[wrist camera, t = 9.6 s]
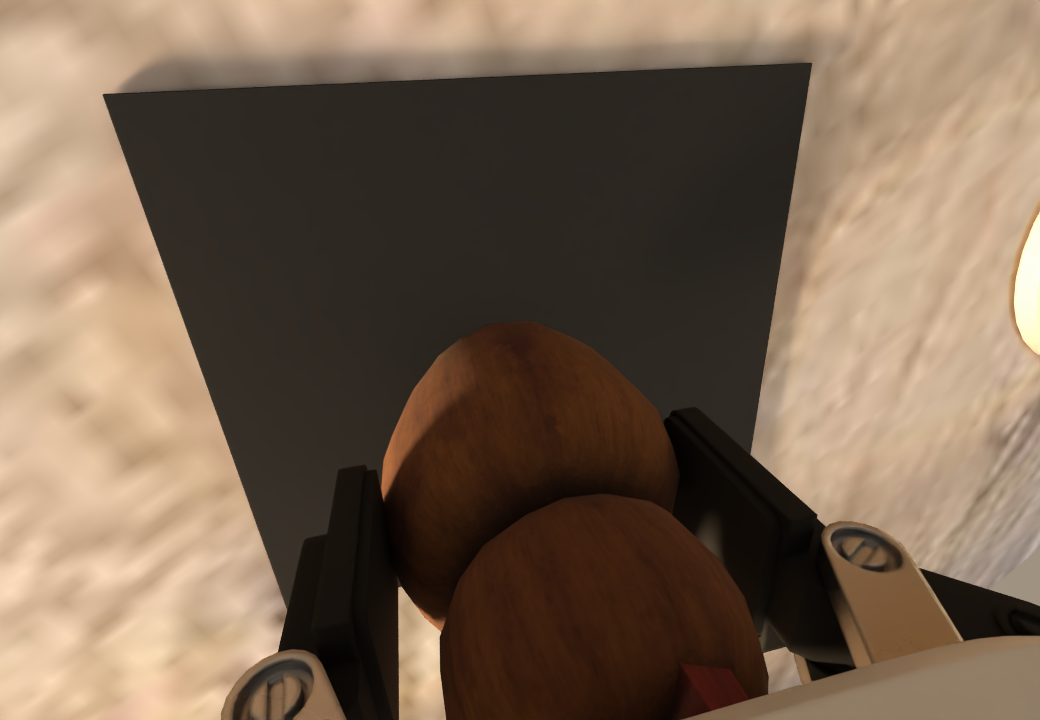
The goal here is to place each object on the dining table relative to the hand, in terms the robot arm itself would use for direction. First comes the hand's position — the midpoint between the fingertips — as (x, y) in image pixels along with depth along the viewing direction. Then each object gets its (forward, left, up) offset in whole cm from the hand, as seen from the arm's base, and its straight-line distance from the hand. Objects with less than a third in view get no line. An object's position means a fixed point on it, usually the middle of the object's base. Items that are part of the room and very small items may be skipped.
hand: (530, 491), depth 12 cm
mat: (-1, 0, -7) cm, 7 cm away
